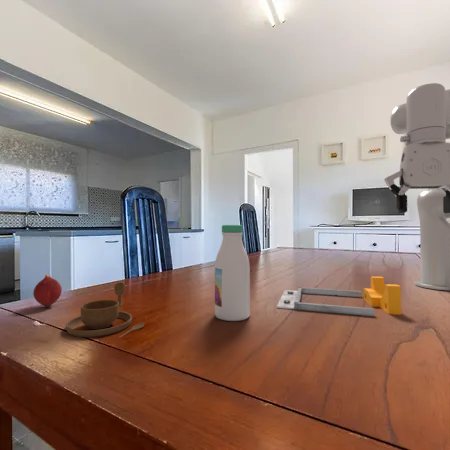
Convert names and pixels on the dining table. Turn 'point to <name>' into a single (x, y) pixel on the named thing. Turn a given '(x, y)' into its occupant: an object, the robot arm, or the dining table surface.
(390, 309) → the pipe clamp
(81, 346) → the dining table surface
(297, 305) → the hinge bracket
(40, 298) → the onion
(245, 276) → the milk bottle
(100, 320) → the place setting
